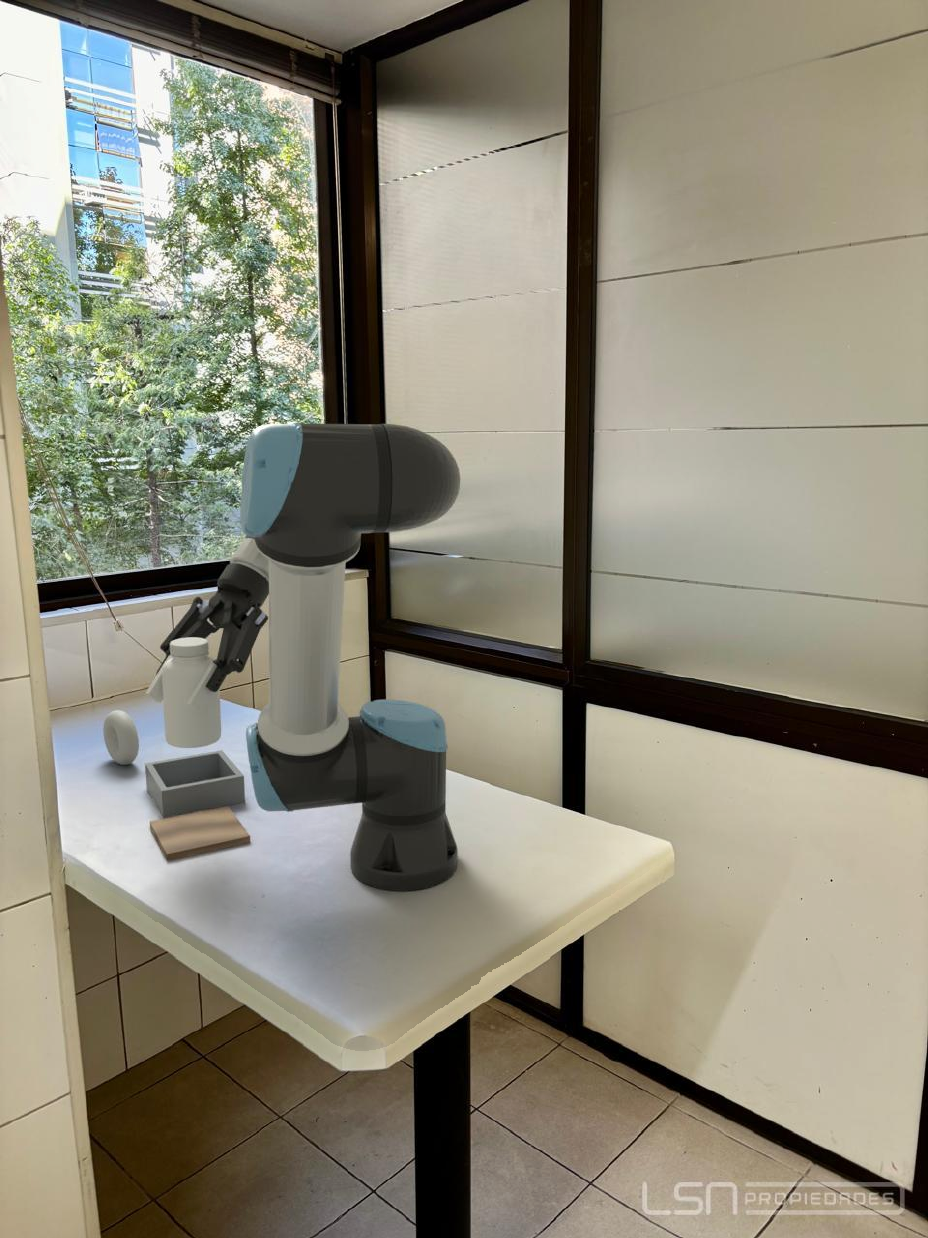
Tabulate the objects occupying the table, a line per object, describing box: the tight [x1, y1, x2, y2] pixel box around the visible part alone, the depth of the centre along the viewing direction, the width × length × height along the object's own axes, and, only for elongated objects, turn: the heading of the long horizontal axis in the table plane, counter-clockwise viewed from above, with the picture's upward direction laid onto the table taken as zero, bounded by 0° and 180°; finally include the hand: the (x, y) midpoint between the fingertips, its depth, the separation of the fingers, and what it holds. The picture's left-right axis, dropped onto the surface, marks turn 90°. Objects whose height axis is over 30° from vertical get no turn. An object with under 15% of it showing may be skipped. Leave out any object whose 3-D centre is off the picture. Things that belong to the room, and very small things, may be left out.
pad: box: [149, 805, 251, 862], centre depth 136 cm, size 12×12×1 cm
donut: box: [102, 709, 140, 766], centre depth 163 cm, size 10×4×10 cm, turn 43°
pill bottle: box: [162, 637, 222, 749], centre depth 132 cm, size 8×8×15 cm
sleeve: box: [144, 750, 246, 819], centre depth 150 cm, size 13×13×4 cm
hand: (173, 703), depth 129 cm, fingers closed on pill bottle, 8 cm apart
